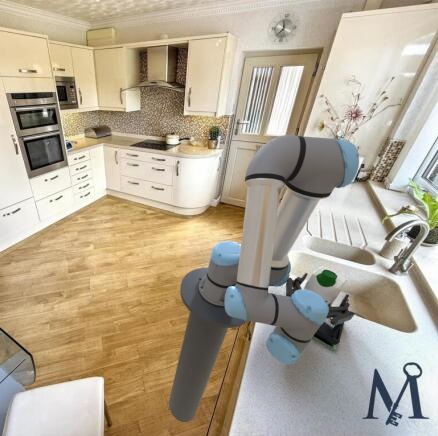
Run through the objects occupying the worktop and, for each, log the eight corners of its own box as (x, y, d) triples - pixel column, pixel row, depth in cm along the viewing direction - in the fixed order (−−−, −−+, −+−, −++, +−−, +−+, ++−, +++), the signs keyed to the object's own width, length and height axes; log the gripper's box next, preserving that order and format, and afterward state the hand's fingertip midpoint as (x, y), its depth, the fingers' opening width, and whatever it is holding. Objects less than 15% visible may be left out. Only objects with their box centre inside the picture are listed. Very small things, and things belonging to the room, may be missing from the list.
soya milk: (289, 308, 86) (312, 268, 77) (301, 298, 91) (324, 259, 81) (314, 326, 80) (342, 285, 70) (326, 315, 85) (353, 274, 75)
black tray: (276, 317, 87) (287, 296, 81) (289, 294, 97) (299, 274, 91) (333, 351, 76) (350, 330, 71) (340, 321, 87) (356, 301, 81)
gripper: (258, 302, 77) (285, 274, 90) (344, 360, 62) (361, 317, 75) (265, 286, 73) (292, 259, 86) (359, 343, 58) (374, 300, 71)
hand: (324, 286), depth 80 cm, fingers open, 12 cm apart
